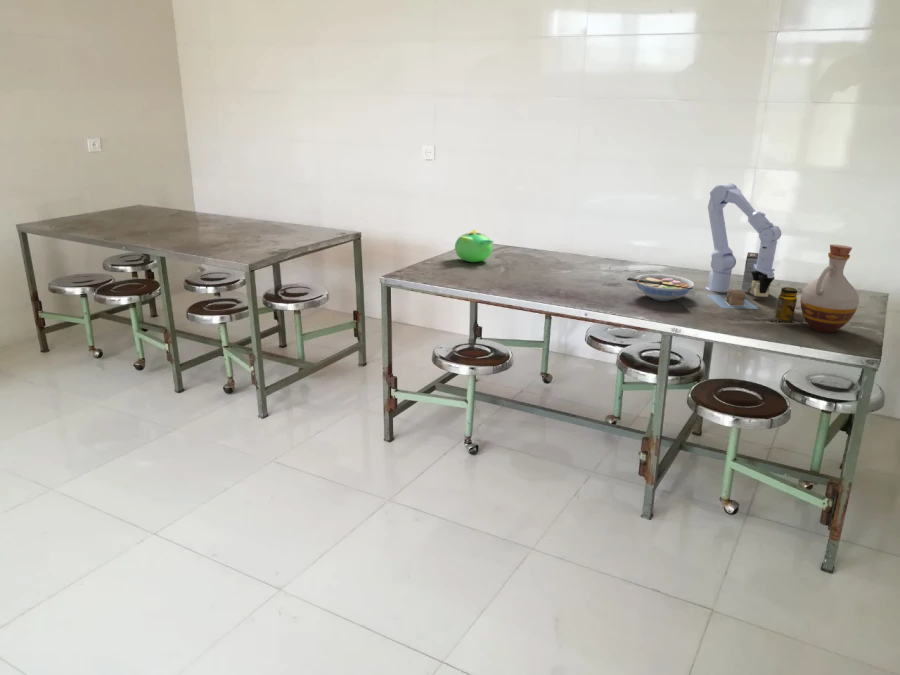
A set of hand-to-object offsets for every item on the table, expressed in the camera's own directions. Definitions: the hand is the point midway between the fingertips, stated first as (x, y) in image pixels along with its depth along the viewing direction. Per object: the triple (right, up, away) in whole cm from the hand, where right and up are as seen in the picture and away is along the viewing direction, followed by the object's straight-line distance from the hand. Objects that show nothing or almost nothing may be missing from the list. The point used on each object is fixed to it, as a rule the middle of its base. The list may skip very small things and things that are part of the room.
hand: (759, 291), depth 268 cm
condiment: (-2, -12, -20) cm, 24 cm away
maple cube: (0, -1, +1) cm, 2 cm away
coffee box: (+2, 0, +15) cm, 15 cm away
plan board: (-12, -5, -2) cm, 13 cm away
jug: (+8, -16, -30) cm, 35 cm away
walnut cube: (-12, -5, -5) cm, 14 cm away
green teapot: (-112, +18, +57) cm, 127 cm away
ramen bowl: (-38, -3, +3) cm, 38 cm away
